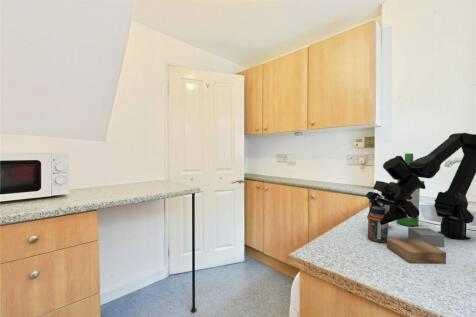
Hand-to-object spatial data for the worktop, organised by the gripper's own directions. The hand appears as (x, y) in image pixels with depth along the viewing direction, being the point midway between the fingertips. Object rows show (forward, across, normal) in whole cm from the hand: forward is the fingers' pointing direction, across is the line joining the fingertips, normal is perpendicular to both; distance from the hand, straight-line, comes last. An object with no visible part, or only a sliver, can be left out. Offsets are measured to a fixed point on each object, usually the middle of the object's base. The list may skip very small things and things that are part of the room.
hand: (374, 221), depth 82 cm
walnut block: (+2, +12, +7) cm, 14 cm away
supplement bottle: (+4, 0, +6) cm, 7 cm away
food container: (-5, -14, +15) cm, 21 cm away
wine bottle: (-14, -15, +24) cm, 31 cm away
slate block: (-6, +4, +16) cm, 18 cm away
